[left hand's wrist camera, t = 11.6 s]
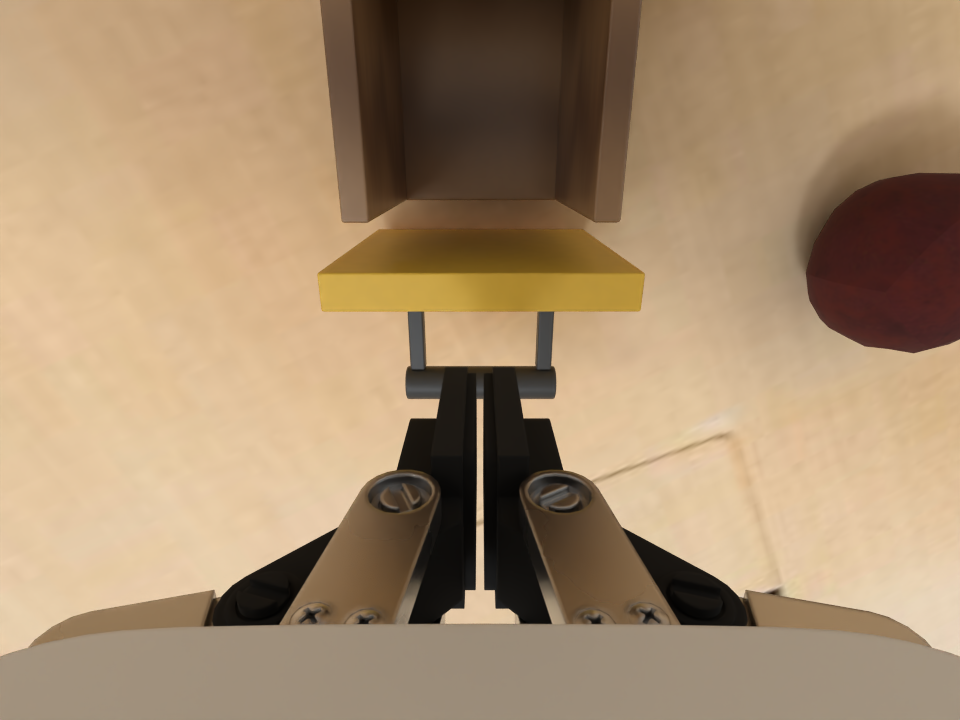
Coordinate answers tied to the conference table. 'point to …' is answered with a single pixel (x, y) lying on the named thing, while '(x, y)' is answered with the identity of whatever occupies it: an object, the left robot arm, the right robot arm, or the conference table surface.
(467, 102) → the drawer
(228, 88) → the conference table surface
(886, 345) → the potato
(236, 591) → the left robot arm
